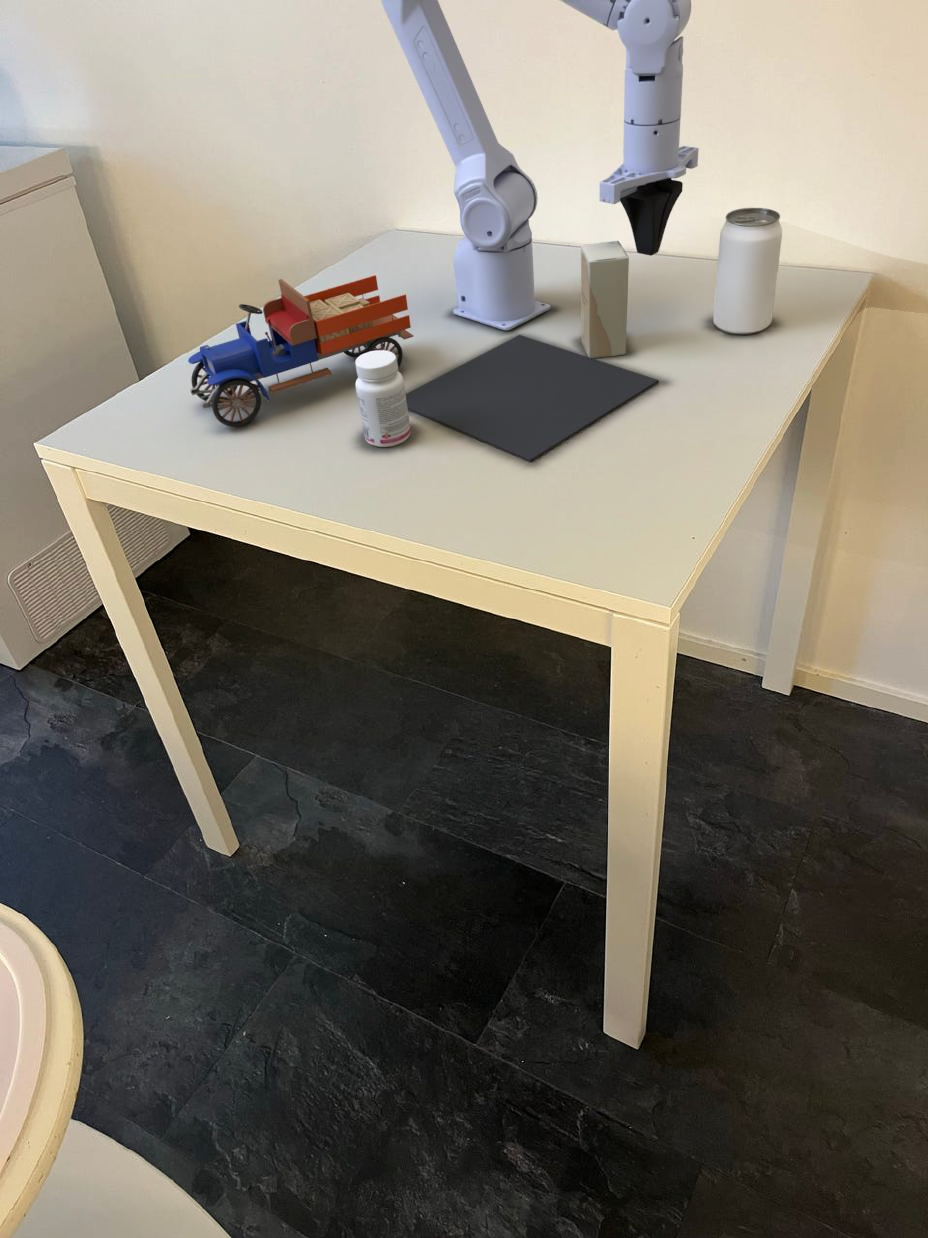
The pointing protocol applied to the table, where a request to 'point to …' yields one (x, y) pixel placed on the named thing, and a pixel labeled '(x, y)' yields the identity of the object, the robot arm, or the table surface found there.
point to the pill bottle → (382, 399)
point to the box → (604, 298)
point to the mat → (526, 396)
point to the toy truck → (296, 343)
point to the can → (747, 270)
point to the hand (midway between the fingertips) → (647, 252)
